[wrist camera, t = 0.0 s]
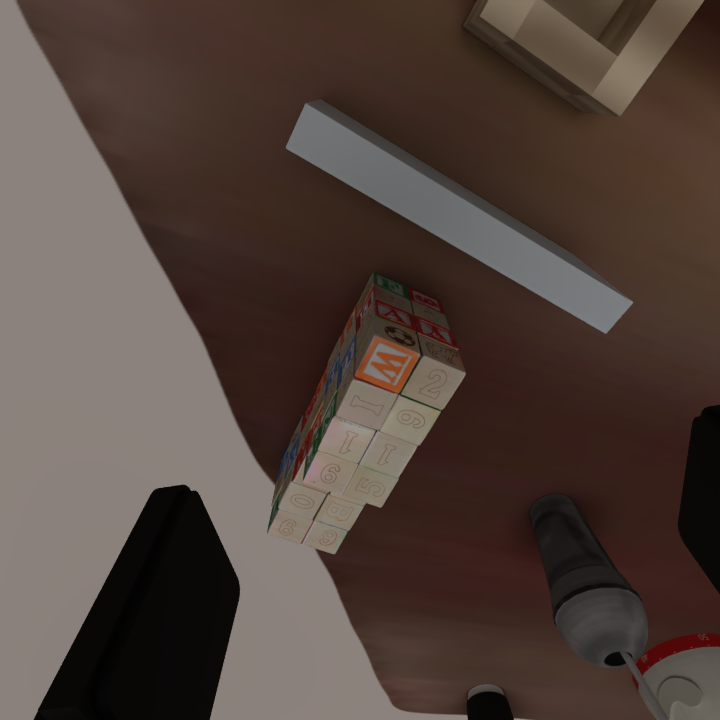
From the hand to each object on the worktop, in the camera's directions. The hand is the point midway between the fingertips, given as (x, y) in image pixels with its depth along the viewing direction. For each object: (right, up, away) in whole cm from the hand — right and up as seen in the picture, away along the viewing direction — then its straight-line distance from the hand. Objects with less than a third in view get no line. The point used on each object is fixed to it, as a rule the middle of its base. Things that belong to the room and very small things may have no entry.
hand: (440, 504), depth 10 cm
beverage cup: (+18, -13, +42) cm, 48 cm away
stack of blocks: (-2, 0, +36) cm, 36 cm away
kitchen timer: (+41, -37, +56) cm, 78 cm away
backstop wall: (+5, +15, +27) cm, 32 cm away
